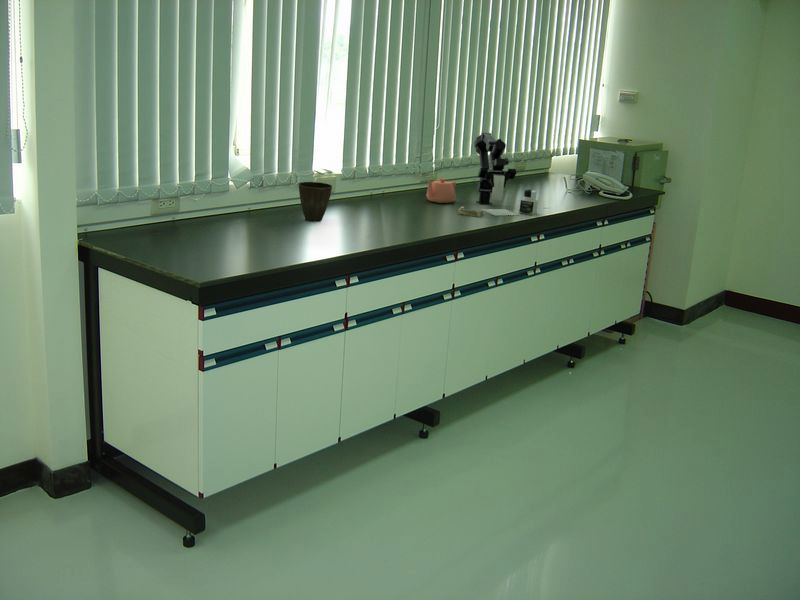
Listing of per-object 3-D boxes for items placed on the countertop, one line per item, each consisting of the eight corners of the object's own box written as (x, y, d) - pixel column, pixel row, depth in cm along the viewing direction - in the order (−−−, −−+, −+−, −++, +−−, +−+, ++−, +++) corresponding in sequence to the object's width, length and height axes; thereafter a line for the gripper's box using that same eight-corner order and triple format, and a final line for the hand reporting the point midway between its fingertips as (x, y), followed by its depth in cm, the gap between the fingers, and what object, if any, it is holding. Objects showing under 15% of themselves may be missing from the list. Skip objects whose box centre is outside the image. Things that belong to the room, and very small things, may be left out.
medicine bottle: (519, 213, 436) (521, 189, 432) (523, 211, 442) (526, 188, 438) (532, 215, 433) (535, 191, 429) (536, 213, 439) (539, 190, 435)
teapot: (434, 205, 438) (436, 182, 435) (414, 200, 449) (416, 177, 445) (464, 202, 453) (466, 179, 449) (443, 197, 463) (445, 175, 460)
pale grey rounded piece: (490, 197, 432) (492, 174, 428) (500, 198, 433) (503, 175, 429) (494, 200, 425) (496, 177, 421) (504, 201, 426) (507, 177, 422)
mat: (481, 210, 436) (481, 209, 435) (505, 210, 441) (505, 209, 441) (494, 215, 423) (494, 215, 423) (518, 215, 429) (518, 214, 429)
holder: (461, 211, 428) (461, 206, 428) (482, 214, 426) (483, 209, 425) (457, 214, 421) (458, 209, 420) (479, 216, 418) (479, 211, 418)
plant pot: (328, 217, 391) (330, 182, 386) (331, 224, 377) (333, 188, 372) (296, 216, 388) (297, 181, 384) (298, 222, 374) (299, 187, 370)
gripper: (481, 150, 425) (484, 176, 418) (517, 152, 428) (521, 178, 421) (476, 164, 435) (479, 189, 428) (511, 166, 438) (515, 191, 431)
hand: (498, 186), depth 427 cm, fingers closed on pale grey rounded piece, 5 cm apart
